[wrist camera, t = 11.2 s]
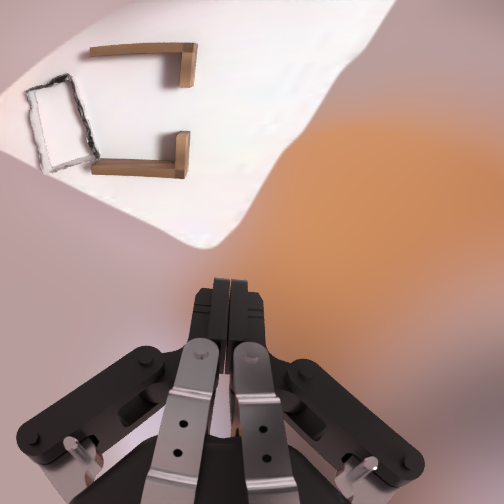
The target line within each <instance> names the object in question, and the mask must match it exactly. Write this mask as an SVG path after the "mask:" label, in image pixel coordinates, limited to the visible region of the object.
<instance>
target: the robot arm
mask: <svg viewBox="0 0 504 504" xmlns="http://www.w3.org/2000/svg"><path fill="white" fill-rule="evenodd" d="M247 284H248V282H247V280H235V279H231V288H230V279H224V278H214V284H213V289H209V288H201V289H200V291H199V292H198V293H197V294H196V297H195V302H194V308H193V314H192V320H191V326H190V333H189V338H188V341H187V343H186V344H185V345H184V346H183V347H182V348H181V349H179V350H176V351H173V352H167V353H161V352H160V351H159V350H158V349H157V348H155V347H152V346H141V347H138V348H136V349H134V350H133V351H131V352H130V353H128V354H127V355H125V356H124V357H122V358H121V359H119V360H118V361H117V362H115V363H114V364H112V365H111V366H109V367H108V368H106V369H105V370H103V371H102V372H100V373H99V374H97V375H96V376H94V377H93V378H92V379H90V380H89V381H87V382H86V383H84V384H83V385H81V386H80V387H78V388H77V389H75V390H74V391H72V392H71V393H69V394H68V395H66V396H65V397H63V398H62V399H60V400H59V401H57V402H56V403H54V404H53V405H51V406H50V407H48V408H47V409H45V410H44V411H42V412H41V413H39V414H38V415H36V416H35V417H33V418H32V419H30V420H29V421H27V422H25V423H24V424H23V425H22V426H21V427H20V428H19V429H18V432H17V436H16V440H17V444H18V446H19V448H20V450H21V451H22V452H23V453H25V454H26V455H27V456H28V457H29V458H30V459H31V460H32V461H33V462H34V463H36V464H37V465H38V466H40V468H41V469H42V470H43V472H44V473H45V475H46V476H47V478H48V479H49V480H50V482H51V483H52V484H53V486H54V487H55V489H56V490H57V491H58V493H59V494H60V495H61V496H62V498H63V499H64V500H65V502H66V503H67V504H386V503H387V502H388V500H389V499H390V498H391V497H392V496H393V495H394V494H395V492H396V491H397V490H398V489H399V488H401V487H403V486H404V485H406V484H408V483H410V482H411V481H413V480H415V479H416V478H418V477H419V476H420V475H421V474H422V472H423V470H424V467H425V462H424V458H423V456H422V455H421V453H420V452H419V451H418V450H416V449H415V448H414V447H413V446H412V445H411V444H409V443H408V442H407V441H406V440H404V439H403V438H402V437H401V436H400V435H398V434H397V433H396V432H395V431H394V430H392V429H391V428H390V427H389V426H388V425H387V424H385V423H384V422H383V421H382V420H381V419H380V418H378V417H377V416H376V415H375V414H374V413H372V412H371V411H370V410H369V409H368V408H367V407H365V406H364V405H363V404H362V403H361V402H360V401H359V400H357V399H356V398H355V397H354V396H353V395H352V394H351V393H349V392H348V391H347V390H346V389H345V388H344V387H343V386H341V385H340V384H339V383H338V382H337V381H336V380H335V379H333V378H332V377H331V376H330V375H329V374H328V373H327V372H326V371H324V370H323V369H322V368H321V367H320V366H319V365H318V364H317V363H315V362H313V361H311V360H308V359H298V360H295V361H293V362H292V363H288V362H285V361H282V360H279V359H277V358H275V357H274V356H272V355H271V354H270V353H269V351H268V350H267V348H266V343H265V324H264V307H263V300H262V298H261V297H260V295H259V293H255V292H248V285H247ZM229 289H230V298H229ZM225 352H226V362H225V374H230V384H229V404H230V421H231V437H230V438H218V437H215V436H212V435H210V427H211V420H212V414H213V407H214V400H215V394H216V388H217V386H218V381H219V374H223V371H224V361H225ZM165 404H166V406H165V409H164V413H163V417H162V421H161V425H160V430H159V434H158V435H156V436H153V437H151V438H148V439H147V440H145V441H143V442H142V443H140V444H139V445H138V446H137V447H135V448H134V449H133V450H132V451H131V452H130V453H128V454H127V455H126V456H125V457H124V458H122V459H121V460H120V461H119V462H118V463H116V464H115V465H114V466H113V467H112V468H110V469H109V470H108V471H107V472H105V473H104V474H103V475H102V476H101V477H99V478H98V479H97V480H95V481H94V479H95V477H96V475H97V474H98V473H99V472H100V471H101V469H102V468H103V464H104V460H103V456H102V454H103V453H104V452H105V451H107V450H108V449H109V448H111V447H112V446H113V445H114V444H116V443H117V442H118V441H120V440H121V439H122V438H124V437H125V436H126V435H127V434H129V433H130V432H132V431H133V430H134V429H135V428H137V427H138V426H139V425H141V424H142V423H143V422H144V421H146V420H147V419H148V418H149V417H151V416H152V415H153V414H154V413H156V412H157V411H158V410H159V409H161V408H162V407H163V406H164V405H165ZM284 420H285V421H286V422H287V423H288V424H289V425H290V426H291V427H292V428H293V429H294V430H295V431H296V432H297V433H298V434H299V435H300V436H301V437H302V438H303V439H304V440H305V441H306V442H307V443H308V444H309V445H310V446H311V447H312V448H314V450H316V451H317V452H318V453H319V454H320V455H321V456H322V457H323V458H324V459H325V460H326V461H327V462H328V463H329V464H331V465H332V466H333V467H334V468H335V469H336V470H337V471H336V474H335V482H336V485H337V486H338V487H339V488H340V490H341V491H342V493H340V492H339V491H338V490H337V489H336V488H335V487H334V486H333V485H332V484H331V483H330V482H329V481H328V480H327V479H326V478H325V477H324V476H323V475H322V474H321V473H320V472H319V471H318V470H317V469H316V468H315V467H314V466H313V465H312V464H311V463H310V462H309V461H308V459H307V458H306V457H305V456H304V455H303V454H302V453H300V452H299V451H298V450H297V449H295V448H293V447H292V446H290V445H288V444H287V438H286V431H285V425H284Z"/></svg>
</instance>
